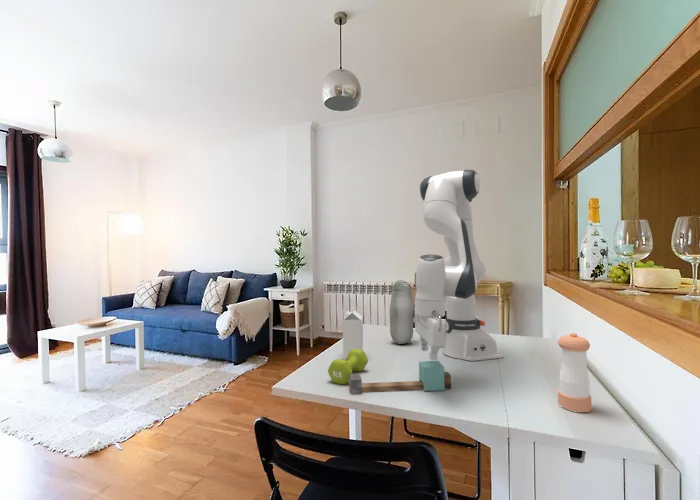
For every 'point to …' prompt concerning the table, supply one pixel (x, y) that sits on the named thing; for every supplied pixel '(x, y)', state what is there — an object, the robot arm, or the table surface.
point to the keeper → (431, 375)
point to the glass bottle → (401, 313)
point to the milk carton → (352, 332)
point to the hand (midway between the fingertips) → (428, 355)
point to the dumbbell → (347, 366)
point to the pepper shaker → (574, 374)
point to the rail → (390, 385)
